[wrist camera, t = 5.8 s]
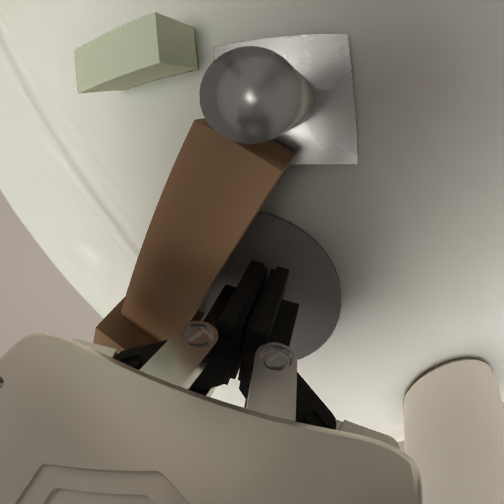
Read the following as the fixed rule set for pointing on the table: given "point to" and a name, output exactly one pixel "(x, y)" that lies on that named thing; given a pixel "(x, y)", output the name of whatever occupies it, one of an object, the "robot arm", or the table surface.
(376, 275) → the table surface
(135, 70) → the block
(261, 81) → the ball knob on plate
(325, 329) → the pad
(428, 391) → the can
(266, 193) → the bar
